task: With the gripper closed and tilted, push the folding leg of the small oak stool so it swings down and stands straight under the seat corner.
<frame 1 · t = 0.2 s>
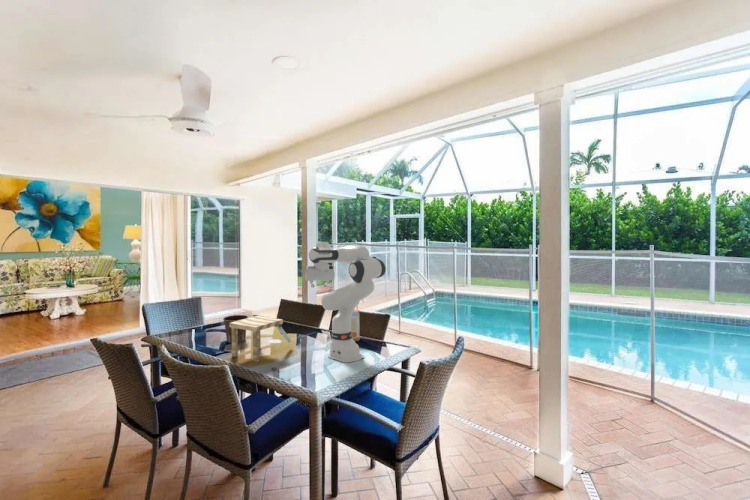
hand: (319, 287, 245), 39 cm above the table, tool pointing down, fingers open, 8 cm apart
stool: (257, 354, 230), on the table
folding leg: (283, 333, 237), point 11 cm above the table, hinge at 40.0°
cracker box: (349, 340, 261), on the table
plant pot: (236, 340, 260), on the table
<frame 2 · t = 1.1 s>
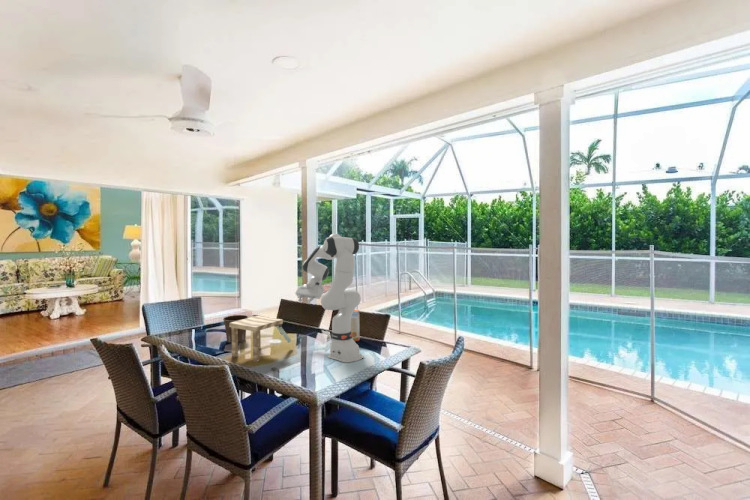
hand: (303, 301, 253), 28 cm above the table, tool tilted 45°, fingers open, 6 cm apart
nothing on the table moved.
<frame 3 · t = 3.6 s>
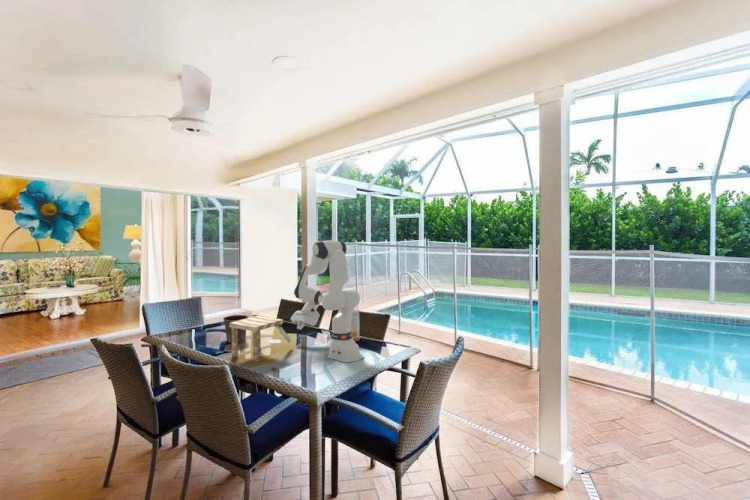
hand: (298, 328, 250), 11 cm above the table, tool tilted 45°, fingers closed
nothing on the table moved.
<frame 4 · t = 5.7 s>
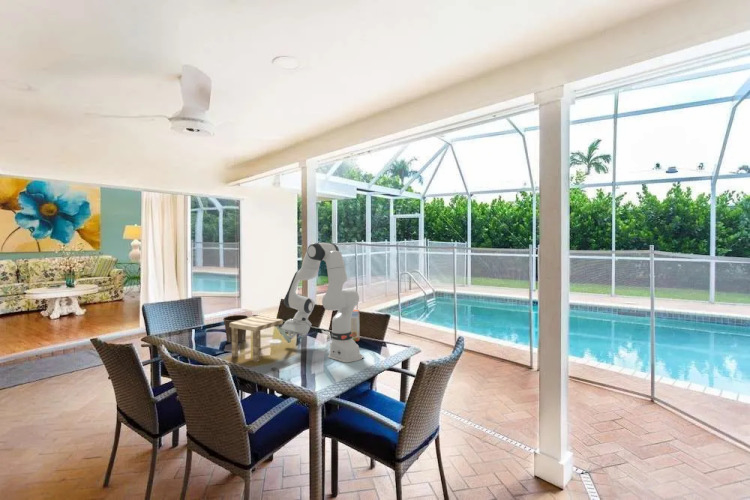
hand: (289, 338, 242), 6 cm above the table, tool tilted 45°, fingers closed, pressing on folding leg
folding leg: (283, 333, 237), point 11 cm above the table, hinge at 39.4°, touching gripper
everything else where it was.
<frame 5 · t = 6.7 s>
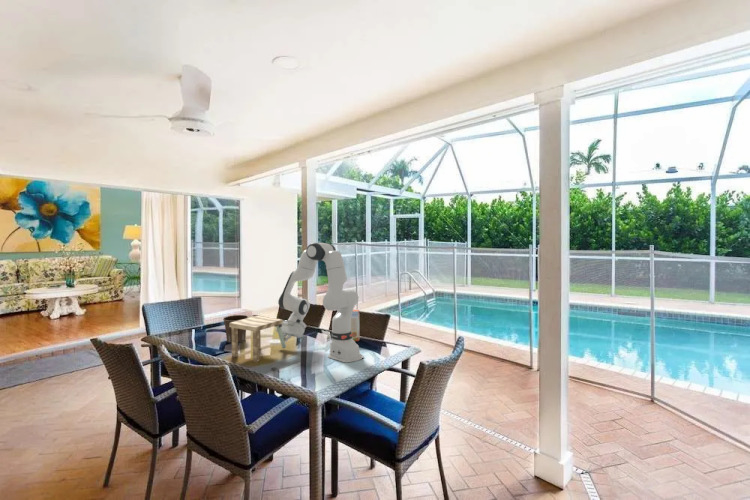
hand: (284, 340, 238), 6 cm above the table, tool tilted 45°, fingers closed, pressing on folding leg
folding leg: (281, 336, 235), point 9 cm above the table, hinge at 19.5°, touching gripper
everything else where it was.
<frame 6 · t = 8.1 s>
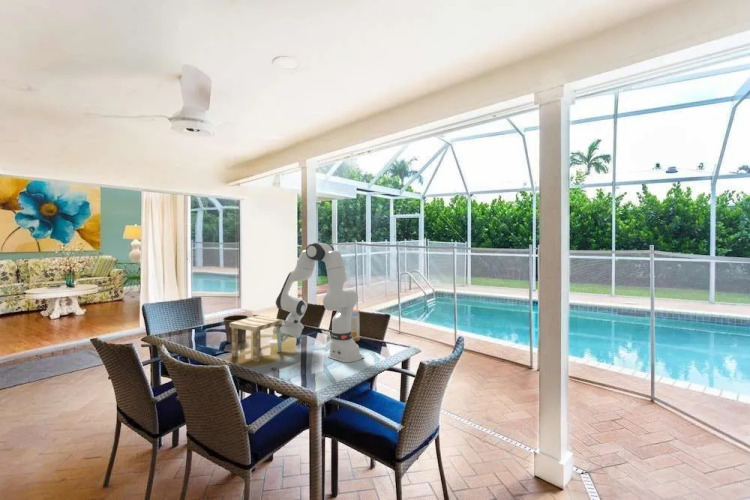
hand: (281, 341, 236), 6 cm above the table, tool tilted 45°, fingers closed, pressing on folding leg
folding leg: (279, 337, 234), point 9 cm above the table, hinge at 4.7°, touching gripper
everything else where it was.
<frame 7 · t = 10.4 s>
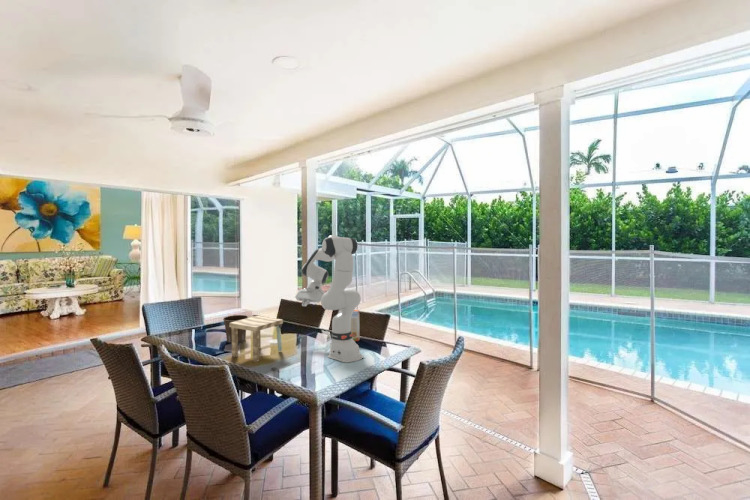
hand: (303, 305, 254), 25 cm above the table, tool tilted 45°, fingers closed
folding leg: (279, 337, 234), point 9 cm above the table, hinge at 4.7°
everything else where it was.
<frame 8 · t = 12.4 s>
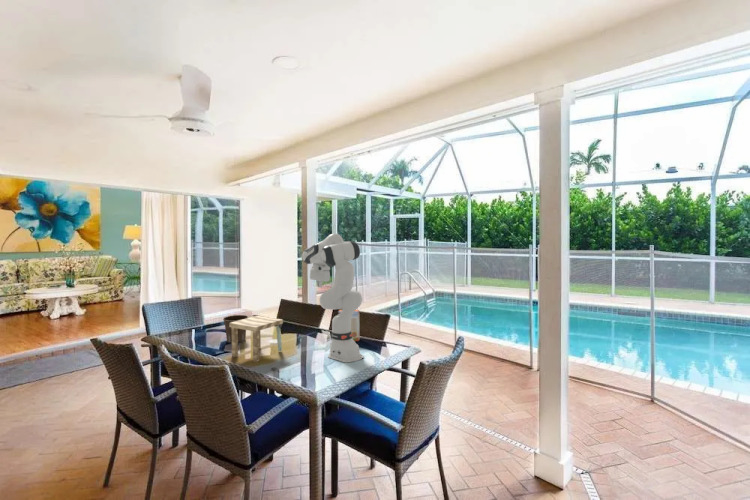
hand: (319, 287, 258), 37 cm above the table, tool pointing down, fingers closed
nothing on the table moved.
at the end: folding leg at +5° (first picture: +40°); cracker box moved 0.2 cm from its start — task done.
